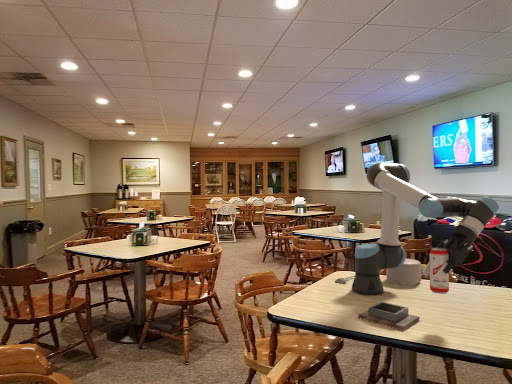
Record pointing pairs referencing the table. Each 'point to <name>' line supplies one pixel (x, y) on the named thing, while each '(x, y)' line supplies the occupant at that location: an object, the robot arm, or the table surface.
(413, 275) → the container
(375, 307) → the grey shallow square box
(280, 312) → the table surface
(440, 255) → the beer can
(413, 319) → the keeper board
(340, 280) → the soupspoon
